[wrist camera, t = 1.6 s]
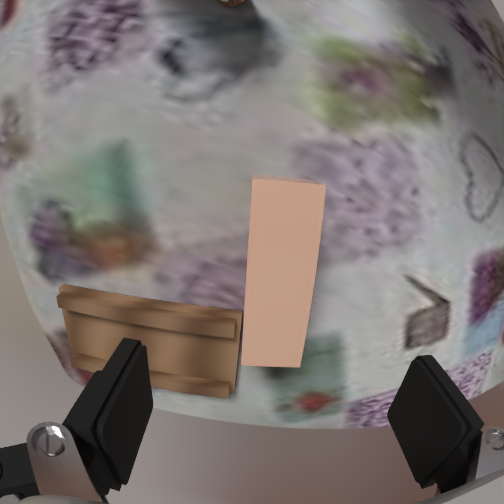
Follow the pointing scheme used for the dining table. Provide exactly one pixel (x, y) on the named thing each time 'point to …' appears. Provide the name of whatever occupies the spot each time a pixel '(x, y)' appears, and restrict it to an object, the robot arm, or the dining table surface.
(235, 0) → the tin
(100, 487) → the robot arm
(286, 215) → the block
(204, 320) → the rack
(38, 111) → the dining table surface
